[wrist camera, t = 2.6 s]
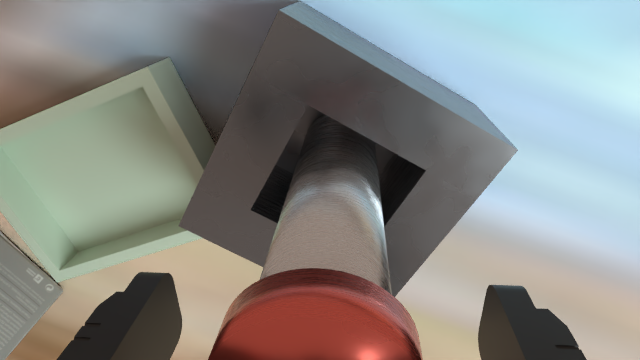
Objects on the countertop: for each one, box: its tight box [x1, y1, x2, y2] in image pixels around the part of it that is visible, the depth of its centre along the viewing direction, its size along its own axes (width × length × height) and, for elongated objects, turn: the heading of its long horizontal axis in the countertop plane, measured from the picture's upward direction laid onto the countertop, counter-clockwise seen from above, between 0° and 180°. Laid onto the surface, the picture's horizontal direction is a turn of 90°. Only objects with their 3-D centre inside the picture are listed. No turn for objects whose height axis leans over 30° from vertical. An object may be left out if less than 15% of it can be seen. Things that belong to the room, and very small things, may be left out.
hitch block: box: [179, 1, 518, 297], centre depth 20 cm, size 10×10×6 cm
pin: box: [208, 115, 423, 360], centre depth 15 cm, size 5×5×14 cm
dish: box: [0, 57, 215, 282], centre depth 23 cm, size 12×9×2 cm
